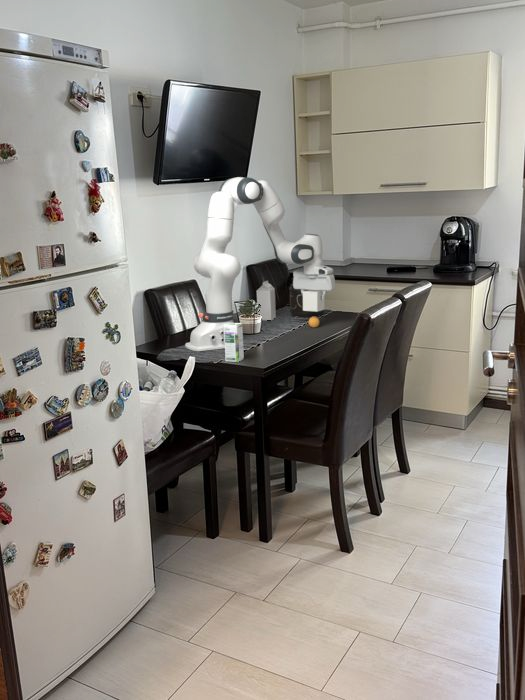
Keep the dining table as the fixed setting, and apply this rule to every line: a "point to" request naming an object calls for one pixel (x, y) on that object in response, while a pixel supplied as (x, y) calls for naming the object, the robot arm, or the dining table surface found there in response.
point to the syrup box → (233, 342)
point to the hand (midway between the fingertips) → (314, 299)
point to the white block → (313, 300)
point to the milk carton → (266, 301)
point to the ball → (313, 321)
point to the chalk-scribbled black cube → (300, 304)
